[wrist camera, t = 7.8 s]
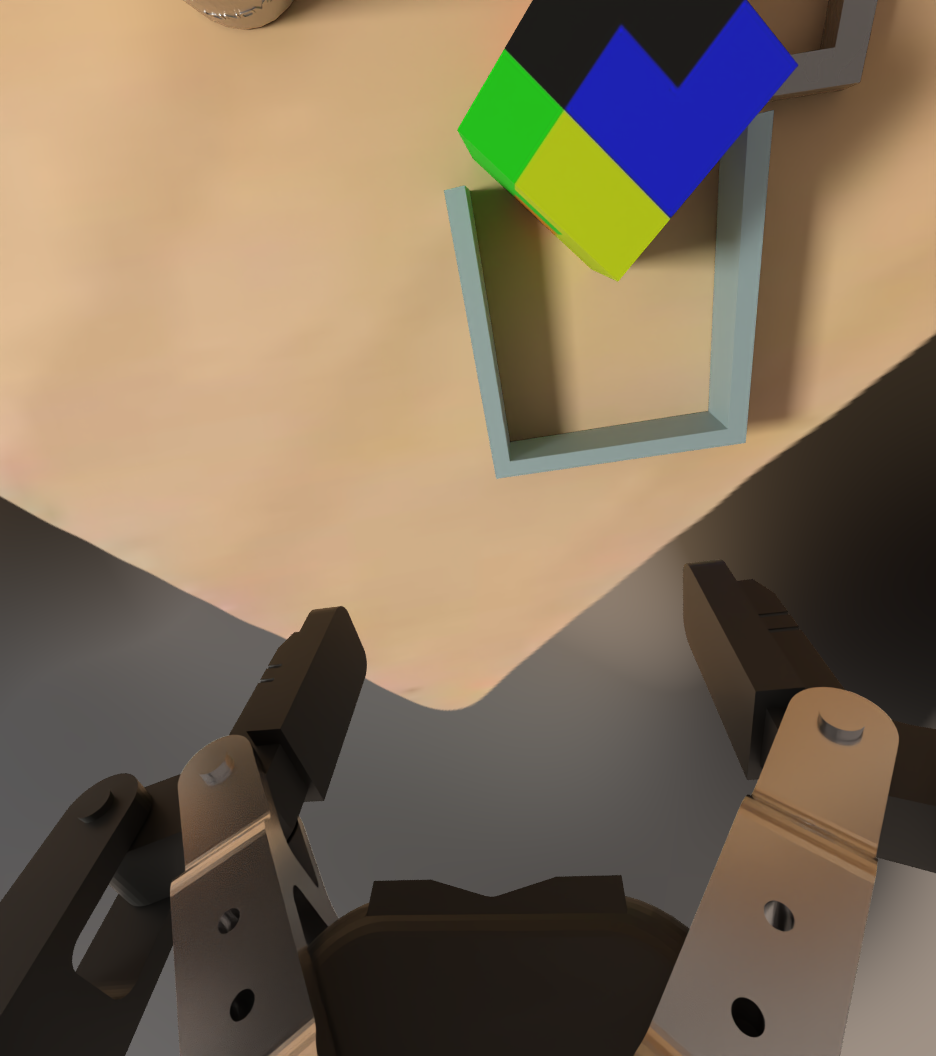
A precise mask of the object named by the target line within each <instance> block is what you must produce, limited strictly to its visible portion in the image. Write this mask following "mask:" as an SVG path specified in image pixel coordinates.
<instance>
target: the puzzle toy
mask: <svg viewBox="0 0 936 1056" xmlns="http://www.w3.org/2000/svg"><path fill="white" fill-rule="evenodd" d="M797 67H798V64H797V62H796V61H795V60H794V59H793V57H792V56H791V55H790V54H789V52H788V51H787V50H786V49H785V47H784V46H783V45H782V44H781V42H780V41H779V40H778V38H777V37H776V36H775V35H774V33H773V32H772V31H771V30H770V28H769V27H768V26H767V25H766V23H765V22H764V21H763V20H762V18H761V17H760V16H759V15H758V13H757V12H756V11H755V10H754V8H753V7H752V6H751V5H750V3H749V2H748V1H747V0H533V1H532V2H531V4H530V6H529V7H528V9H527V11H526V13H525V14H524V16H523V18H522V20H521V21H520V23H519V25H518V26H517V28H516V30H515V32H514V33H513V35H512V37H511V38H510V40H509V42H508V44H507V45H506V47H505V49H504V50H503V52H502V54H501V56H500V57H499V59H498V61H497V62H496V64H495V66H494V68H493V69H492V71H491V73H490V75H489V76H488V78H487V80H486V81H485V83H484V85H483V87H482V88H481V90H480V92H479V93H478V95H477V97H476V99H475V100H474V102H473V104H472V105H471V107H470V109H469V111H468V112H467V114H466V116H465V118H464V119H463V121H462V123H461V124H460V126H459V128H458V132H459V134H460V136H461V138H462V139H463V141H464V143H465V145H466V147H467V149H468V150H469V152H470V154H471V156H472V158H473V159H474V160H475V161H476V162H477V163H478V164H479V165H480V166H481V167H483V168H484V169H485V170H486V171H487V172H488V173H489V174H490V175H491V176H492V177H493V178H494V179H495V180H496V181H498V182H499V183H500V184H501V185H502V186H503V187H504V188H505V189H506V190H507V191H508V192H509V193H510V194H511V195H512V196H514V197H515V198H516V199H517V200H518V201H519V202H520V203H521V204H522V205H523V206H524V207H525V208H526V209H527V210H529V211H530V212H531V213H532V214H533V215H534V216H535V217H536V218H537V219H538V220H539V221H540V222H541V223H542V224H543V225H545V226H546V227H547V228H548V229H549V230H550V231H551V232H552V233H553V234H554V235H555V236H556V237H557V238H558V239H560V240H561V241H562V242H563V243H564V244H565V245H566V246H567V247H568V248H569V249H570V250H571V251H572V252H573V253H575V254H576V255H577V256H578V257H579V258H580V259H581V260H582V261H583V262H584V263H585V264H586V265H587V266H588V267H589V268H591V269H592V270H594V271H596V272H598V273H600V274H603V275H605V276H607V277H609V278H611V279H613V280H616V281H619V280H620V279H621V277H622V276H623V275H624V274H625V273H626V271H627V270H628V269H629V268H630V267H631V265H632V264H633V263H634V262H635V261H636V259H637V258H638V257H639V256H640V255H641V253H642V252H643V251H644V250H645V249H646V247H647V246H648V245H649V244H650V243H651V241H652V240H653V239H654V238H655V237H656V235H657V234H658V233H659V232H660V231H661V229H662V228H663V227H664V226H665V225H666V223H667V222H668V221H669V220H670V219H671V217H672V216H673V215H674V214H675V213H676V211H677V210H678V209H679V208H680V207H681V205H682V204H683V203H684V202H685V201H686V199H687V198H688V197H689V196H690V195H691V193H692V192H693V191H694V190H695V189H696V188H697V186H698V185H699V184H700V183H701V182H702V180H703V179H704V178H705V177H706V176H707V174H708V173H709V172H710V171H711V170H712V168H713V167H714V166H715V165H716V164H717V162H718V161H719V160H720V159H721V158H722V156H723V155H724V154H725V153H726V152H727V150H728V149H729V148H730V147H731V146H732V144H733V143H734V142H735V141H736V140H737V138H738V137H739V136H740V135H741V134H742V132H743V131H744V130H745V129H746V128H747V126H748V125H749V124H750V123H751V122H752V120H753V119H754V118H755V117H756V116H757V114H758V113H759V112H760V111H761V110H762V108H763V107H764V106H765V105H766V104H767V102H768V101H769V100H770V99H771V98H772V96H773V95H774V94H775V93H776V92H777V91H778V89H779V88H780V87H781V86H782V85H783V83H784V82H785V81H786V80H787V79H788V77H789V76H790V75H791V74H792V73H793V71H794V70H795V69H796V68H797Z"/></svg>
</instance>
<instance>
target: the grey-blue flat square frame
mask: <svg viewBox="0 0 936 1056" xmlns="http://www.w3.org/2000/svg"><path fill="white" fill-rule="evenodd" d="M773 115H774V110H771V111H767V112H763V113H759V114H757V116H756V117H755V118H754V119H753V120H752V122H751V123H750V124H749V125H748V126H747V128H746V129H745V130H744V131H743V132H742V134H741V135H740V136H739V137H738V138H737V140H736V141H735V142H734V143H733V144H732V146H731V147H730V148H729V149H728V150H727V152H726V153H725V154H724V155H723V156H722V158H721V159H720V164H719V187H718V209H717V231H716V253H715V276H714V298H713V320H712V342H711V365H710V387H709V409H708V411H706V412H700V413H693V414H687V415H680V416H674V417H668V418H661V419H655V420H648V421H642V422H635V423H629V424H623V425H616V426H610V427H603V428H597V429H590V430H584V431H578V432H571V433H565V434H558V435H552V436H545V437H539V438H533V439H526V440H520V441H513V442H510V438H509V432H508V425H507V419H506V413H505V407H504V401H503V394H502V388H501V382H500V376H499V369H498V363H497V357H496V351H495V344H494V338H493V332H492V326H491V319H490V313H489V307H488V301H487V294H486V288H485V282H484V276H483V269H482V263H481V257H480V251H479V244H478V238H477V232H476V226H475V219H474V213H473V207H472V201H471V195H470V190H469V189H468V188H467V187H466V186H460V187H456V188H452V189H448V190H444V193H445V199H446V204H447V210H448V215H449V221H450V226H451V232H452V237H453V243H454V249H455V254H456V260H457V265H458V271H459V276H460V282H461V287H462V293H463V298H464V304H465V309H466V315H467V320H468V326H469V331H470V337H471V342H472V348H473V353H474V359H475V364H476V370H477V375H478V381H479V386H480V392H481V397H482V403H483V408H484V414H485V419H486V425H487V430H488V436H489V441H490V447H491V452H492V458H493V463H494V469H495V474H496V479H498V478H505V477H512V476H519V475H525V474H532V473H539V472H546V471H553V470H560V469H567V468H574V467H581V466H588V465H595V464H602V463H609V462H616V461H623V460H630V459H637V458H643V457H650V456H657V455H664V454H671V453H678V452H685V451H692V450H699V449H706V448H713V447H720V446H727V445H734V444H741V443H746V432H747V420H748V408H749V397H750V385H751V373H752V361H753V350H754V338H755V326H756V315H757V303H758V291H759V279H760V268H761V256H762V244H763V232H764V221H765V209H766V197H767V185H768V174H769V162H770V150H771V138H772V127H773Z"/></svg>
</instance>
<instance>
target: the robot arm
mask: <svg viewBox="0 0 936 1056" xmlns="http://www.w3.org/2000/svg"><path fill="white" fill-rule="evenodd" d="M183 1H185V2H186V3H188V4H189V5H191V6H192V7H193V8H195V9H196V10H198V11H199V12H201V13H202V14H203V15H205V16H206V17H208V18H209V19H210V20H212V21H215V22H217V23H219V24H222V25H224V26H226V27H231V28H238V29H251V28H257V27H262V26H264V25H266V24H268V23H270V22H272V21H274V20H276V19H277V18H278V17H279V16H280V15H281V14H282V13H283V12H284V11H285V10H286V9H287V8H289V6H290V5H291V3H292V1H293V0H183ZM683 619H684V627H685V632H686V636H687V640H688V643H689V646H690V648H691V650H692V653H693V655H694V657H695V660H696V662H697V664H698V667H699V669H700V671H701V674H702V676H703V678H704V681H705V683H706V685H707V688H708V690H709V692H710V695H711V697H712V699H713V702H714V704H715V706H716V709H717V711H718V713H719V716H720V718H721V720H722V723H723V725H724V727H725V730H726V732H727V734H728V737H729V739H730V741H731V744H732V746H733V749H734V751H735V753H736V755H737V758H738V760H739V763H740V765H741V767H742V769H743V772H744V774H745V777H746V778H747V780H754V779H758V782H757V784H756V787H755V789H754V791H753V793H752V795H751V796H750V795H747V796H746V797H745V798H744V800H743V802H742V804H741V806H740V808H739V810H738V813H737V815H736V817H735V820H734V822H733V825H732V827H731V830H730V832H729V834H728V837H727V839H726V842H725V844H724V847H723V849H722V852H721V854H720V857H719V859H718V862H717V864H716V866H715V869H714V871H713V874H712V876H711V878H710V881H709V883H708V886H707V888H706V890H705V893H704V896H703V898H702V900H701V903H700V905H699V908H698V910H697V913H696V915H695V917H694V920H693V922H692V925H691V927H690V929H689V928H688V927H687V926H685V925H684V924H682V923H681V922H680V921H678V920H677V919H676V918H674V917H673V916H671V915H669V914H668V913H666V912H664V911H662V910H661V909H659V908H657V907H655V906H653V905H650V904H648V903H646V902H643V901H641V900H638V899H634V898H631V897H627V896H625V894H624V888H623V882H622V876H621V875H612V876H572V877H570V876H569V877H554V878H551V879H549V880H545V881H542V882H539V883H536V884H533V885H530V886H527V887H524V888H521V889H517V890H514V891H511V892H508V893H505V894H502V895H499V896H495V897H488V896H484V895H480V894H477V893H473V892H470V891H467V890H463V889H460V888H457V887H453V886H450V885H447V884H443V883H440V882H436V881H433V880H398V881H374V883H373V888H372V893H371V897H370V902H369V903H367V904H364V905H362V906H360V907H358V908H356V909H354V910H352V911H350V912H349V913H347V914H346V915H344V916H342V917H341V918H338V916H337V914H336V913H335V911H334V909H333V907H332V904H331V902H330V900H329V898H328V895H327V892H326V890H325V886H324V884H323V881H322V878H321V875H320V872H319V869H318V866H317V863H316V860H315V857H314V854H313V851H312V848H311V845H310V842H309V840H308V837H307V834H306V831H305V828H304V825H303V822H302V820H301V818H300V817H299V813H300V811H301V808H302V805H303V803H304V802H310V801H324V799H325V796H326V793H327V790H328V787H329V784H330V781H331V778H332V775H333V772H334V769H335V766H336V763H337V760H338V757H339V754H340V751H341V748H342V745H343V742H344V739H345V736H346V733H347V730H348V727H349V724H350V721H351V718H352V715H353V712H354V709H355V706H356V703H357V700H358V697H359V694H360V691H361V688H362V685H363V682H364V679H365V676H366V670H367V661H366V654H365V651H364V648H363V646H362V644H361V641H360V639H359V637H358V634H357V632H356V630H355V627H354V625H353V623H352V620H351V618H350V616H349V613H348V611H347V610H346V609H345V608H344V607H343V606H339V607H331V608H323V609H315V610H312V611H311V612H310V613H309V615H308V617H307V619H306V620H305V622H304V624H303V626H302V628H301V630H300V632H294V633H293V634H292V635H291V636H290V637H289V638H288V639H287V640H286V641H285V642H284V643H283V644H282V645H281V646H280V647H279V648H278V649H277V651H276V653H275V655H274V656H273V658H272V660H271V662H270V664H269V665H268V666H269V668H268V669H266V671H265V672H264V674H263V676H262V678H261V683H258V685H257V686H256V688H255V690H254V692H253V694H252V696H251V697H250V699H249V701H248V702H247V704H246V706H245V708H244V709H243V711H242V713H241V715H240V717H239V718H238V720H237V722H236V724H235V725H234V727H233V729H232V731H231V732H230V734H229V736H225V737H222V738H219V739H217V740H215V741H213V742H211V743H209V744H208V745H206V746H205V747H203V748H202V749H201V750H200V751H198V752H197V753H196V754H195V755H194V756H193V757H192V758H191V759H190V761H189V762H188V763H187V764H186V766H185V767H184V769H183V771H182V773H181V774H180V775H177V776H174V777H171V778H169V779H166V780H163V781H160V782H158V783H155V784H152V785H150V786H147V787H143V786H142V785H141V783H140V782H139V781H138V780H137V779H136V778H135V777H134V776H133V775H131V774H127V773H125V774H117V775H113V776H111V777H108V778H106V779H104V780H102V781H100V782H98V783H97V784H95V785H93V786H92V787H91V788H89V789H88V790H87V791H85V792H84V793H83V794H82V795H81V796H80V797H78V799H76V801H75V802H73V804H72V805H71V806H70V807H69V808H68V810H67V811H66V812H65V814H64V815H63V816H62V818H61V819H60V821H59V822H58V823H57V825H56V826H55V827H54V829H53V830H52V831H51V833H50V834H49V836H48V837H47V838H46V840H45V841H44V843H43V844H42V845H41V847H40V848H39V849H38V851H37V852H36V854H35V855H34V856H33V858H32V859H31V860H30V862H29V863H28V865H27V866H26V867H25V869H24V870H23V872H22V873H21V874H20V876H19V877H18V879H17V880H16V881H15V883H14V884H13V885H12V887H11V888H10V890H9V891H8V892H7V894H6V895H5V896H4V898H3V899H2V901H1V902H0V1056H125V1054H126V1052H127V1050H128V1048H129V1045H130V1043H131V1041H132V1038H133V1036H134V1034H135V1031H136V1029H137V1027H138V1024H139V1022H140V1020H141V1018H142V1015H143V1013H144V1011H145V1008H146V1006H147V1004H148V1001H149V999H150V997H151V994H152V992H153V990H154V988H155V985H156V983H157V981H158V978H159V976H160V974H161V972H162V969H163V967H164V965H165V962H166V960H167V958H168V955H169V953H170V951H171V948H172V946H173V951H174V966H175V983H176V997H177V1014H178V1030H179V1046H180V1056H840V1054H841V1049H842V1043H843V1038H844V1033H845V1028H846V1023H847V1018H848V1013H849V1008H850V1003H851V998H852V993H853V988H854V983H855V978H856V973H857V967H858V962H859V958H860V952H861V948H862V942H863V937H864V932H865V927H866V922H867V917H868V912H869V907H870V902H871V897H872V892H873V887H874V881H875V876H876V871H877V862H878V859H877V858H876V857H878V858H882V859H885V860H889V861H893V862H896V863H900V864H904V865H908V866H911V867H915V868H919V869H923V870H927V871H930V872H934V873H936V729H931V728H925V727H919V726H914V725H909V724H904V723H901V722H898V721H894V720H891V719H890V717H889V716H888V715H887V714H886V713H885V712H884V711H883V710H882V709H880V708H879V707H878V706H877V705H875V704H874V703H872V702H871V701H869V700H867V699H865V698H863V697H861V696H859V695H857V694H854V693H851V692H849V691H846V690H845V689H844V688H843V687H842V685H841V684H840V683H839V681H838V680H837V678H836V677H835V676H834V675H833V673H832V672H831V670H830V669H829V667H828V666H827V665H826V663H825V662H824V661H823V659H822V658H821V657H820V655H819V654H818V652H817V651H816V650H815V648H814V647H813V645H812V644H811V643H810V641H809V640H808V639H807V637H806V636H805V634H804V633H803V632H802V630H799V628H798V625H797V624H796V622H795V621H794V619H793V618H792V617H791V615H788V611H787V610H786V608H785V607H784V606H783V604H782V603H781V601H780V600H779V599H778V598H777V596H776V594H775V593H773V592H772V591H770V590H769V589H767V588H766V587H764V586H762V585H761V584H759V583H758V582H756V581H755V580H753V579H751V580H741V581H736V579H735V577H734V576H733V574H732V573H731V571H730V570H729V568H728V567H727V565H726V563H725V562H724V561H723V560H721V559H719V560H711V561H703V562H695V563H687V564H685V565H684V569H683ZM108 885H110V886H111V887H112V888H113V889H114V890H115V891H116V892H117V893H119V894H118V896H117V897H116V899H115V901H114V903H113V905H112V907H111V908H110V910H109V912H108V914H107V916H106V917H105V919H104V921H103V923H102V925H101V927H100V928H99V930H98V932H97V934H96V935H95V937H94V939H93V941H92V943H91V945H90V946H89V948H88V950H87V952H86V954H85V955H84V957H83V959H82V961H81V963H80V965H79V966H78V968H77V970H76V972H75V971H74V969H73V965H72V955H73V950H74V946H75V944H76V941H77V939H78V937H79V935H80V933H81V932H82V930H83V928H84V926H85V925H86V923H87V921H88V919H89V918H90V916H91V914H92V912H93V911H94V909H95V907H96V906H97V904H98V902H99V900H100V899H101V897H102V895H103V893H104V891H105V890H106V888H107V886H108Z"/></svg>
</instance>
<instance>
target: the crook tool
mask: <svg viewBox="0 0 936 1056" xmlns="http://www.w3.org/2000/svg"><path fill="white" fill-rule="evenodd" d="M877 1H878V0H829V3H828V8H827V14H826V20H825V25H824V31H823V37H822V42H821V48H820V50H816V51H810V52H804V53H798V54H792V55H791V56H792V57H793V59H794V60H795V61H796V62H797V64H798V67H797V68H796V69H795V70H794V71H793V73H792V74H791V75H790V76H789V77H788V79H787V80H786V81H785V82H784V83H783V85H782V86H781V87H780V88H779V89H778V91H777V92H776V93H775V94H774V95H773V96H772V98H771V99H770V100H769V101H774V100H781V99H787V98H793V97H800V96H806V95H813V94H819V93H826V92H832V91H838V90H844V89H846V88H848V87H850V86H853V85H855V84H857V83H860V80H861V76H862V71H863V66H864V62H865V57H866V52H867V48H868V43H869V38H870V33H871V29H872V24H873V19H874V15H875V10H876V5H877Z"/></svg>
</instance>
